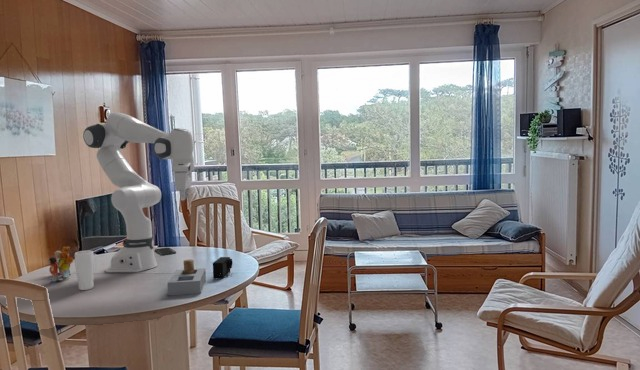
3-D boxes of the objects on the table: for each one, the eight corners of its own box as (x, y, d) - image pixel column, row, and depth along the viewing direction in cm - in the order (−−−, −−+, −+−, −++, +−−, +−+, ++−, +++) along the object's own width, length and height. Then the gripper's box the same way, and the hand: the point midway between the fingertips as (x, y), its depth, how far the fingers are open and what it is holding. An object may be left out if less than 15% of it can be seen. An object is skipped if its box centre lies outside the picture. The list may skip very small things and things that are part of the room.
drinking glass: (83, 292, 176) (80, 254, 175) (73, 289, 180) (70, 253, 178) (99, 287, 182) (96, 251, 181) (89, 285, 185) (87, 249, 184)
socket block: (168, 295, 170) (167, 282, 169) (176, 281, 188) (176, 269, 187) (200, 293, 171) (199, 280, 171) (205, 279, 189) (205, 268, 189)
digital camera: (225, 278, 190) (224, 262, 190) (213, 278, 191) (212, 262, 190) (233, 272, 200) (232, 256, 200) (221, 271, 201) (220, 256, 201)
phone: (168, 247, 251) (176, 252, 239) (168, 249, 251) (176, 254, 239) (153, 249, 246) (161, 254, 234) (154, 251, 246) (161, 256, 234)
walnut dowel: (183, 281, 181) (182, 262, 181) (185, 278, 185) (184, 259, 185) (194, 280, 182) (192, 261, 181) (195, 278, 186) (194, 259, 185)
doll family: (57, 272, 206) (55, 244, 205) (80, 270, 209) (78, 242, 208) (48, 285, 186) (46, 254, 185) (74, 282, 190) (72, 251, 189)
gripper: (179, 166, 200) (181, 196, 201) (171, 167, 180) (172, 202, 181) (194, 165, 201) (195, 196, 202) (187, 167, 180) (188, 201, 182)
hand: (184, 199), depth 191 cm, fingers open, 8 cm apart
